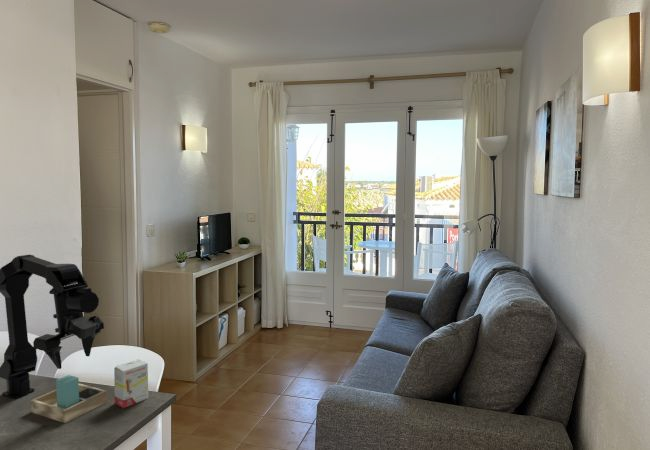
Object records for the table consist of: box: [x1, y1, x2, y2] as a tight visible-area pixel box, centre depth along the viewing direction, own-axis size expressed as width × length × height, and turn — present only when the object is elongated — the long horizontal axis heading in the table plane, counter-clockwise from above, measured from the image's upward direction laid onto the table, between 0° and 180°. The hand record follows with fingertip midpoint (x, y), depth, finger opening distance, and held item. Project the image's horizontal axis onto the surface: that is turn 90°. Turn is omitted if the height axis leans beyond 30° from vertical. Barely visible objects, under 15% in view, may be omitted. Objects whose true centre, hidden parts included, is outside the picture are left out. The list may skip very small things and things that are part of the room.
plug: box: [55, 374, 80, 409], centre depth 140 cm, size 4×4×10 cm
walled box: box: [30, 383, 108, 424], centre depth 145 cm, size 14×14×4 cm
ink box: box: [113, 359, 149, 409], centre depth 149 cm, size 9×5×12 cm, turn 143°
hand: (74, 362), depth 141 cm, fingers open, 9 cm apart
